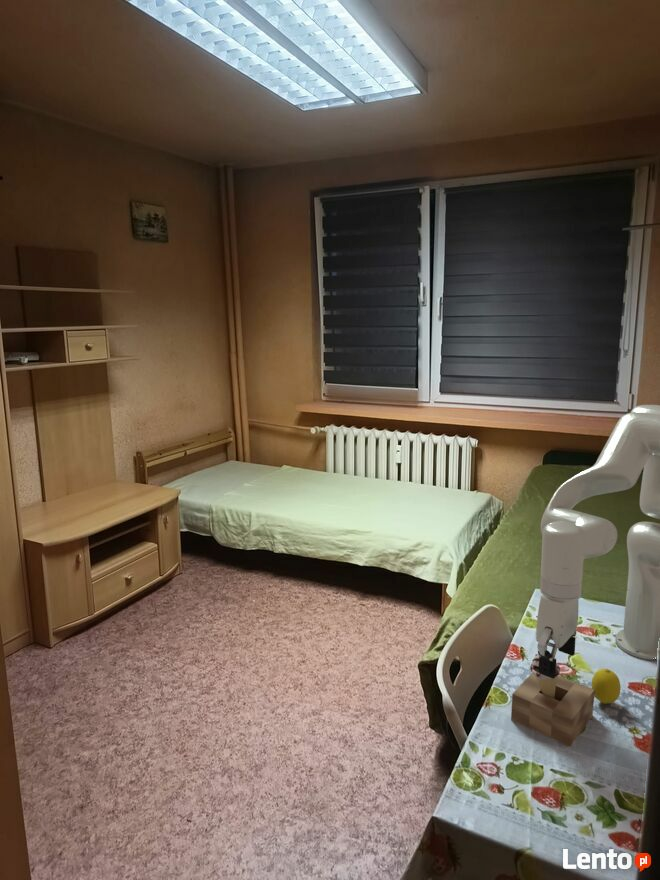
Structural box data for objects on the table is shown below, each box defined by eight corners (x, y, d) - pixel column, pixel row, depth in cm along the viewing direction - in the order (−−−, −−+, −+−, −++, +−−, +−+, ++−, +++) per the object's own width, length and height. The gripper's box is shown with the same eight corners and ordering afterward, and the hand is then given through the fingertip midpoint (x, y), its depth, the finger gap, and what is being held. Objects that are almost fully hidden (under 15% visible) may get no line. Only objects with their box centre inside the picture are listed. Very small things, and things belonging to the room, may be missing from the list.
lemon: (622, 713, 124) (625, 678, 122) (593, 710, 125) (596, 675, 123) (615, 696, 129) (618, 663, 127) (587, 693, 130) (590, 660, 128)
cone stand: (535, 691, 131) (537, 667, 130) (592, 715, 123) (594, 689, 122) (511, 719, 122) (512, 693, 121) (570, 747, 114) (572, 719, 113)
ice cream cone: (536, 725, 121) (527, 659, 119) (537, 707, 127) (528, 643, 124) (566, 727, 119) (557, 660, 116) (566, 708, 124) (557, 643, 122)
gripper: (559, 565, 125) (555, 638, 129) (522, 596, 113) (520, 677, 117) (596, 574, 120) (591, 651, 124) (562, 609, 108) (558, 692, 112)
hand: (556, 663), depth 121 cm, fingers open, 9 cm apart
